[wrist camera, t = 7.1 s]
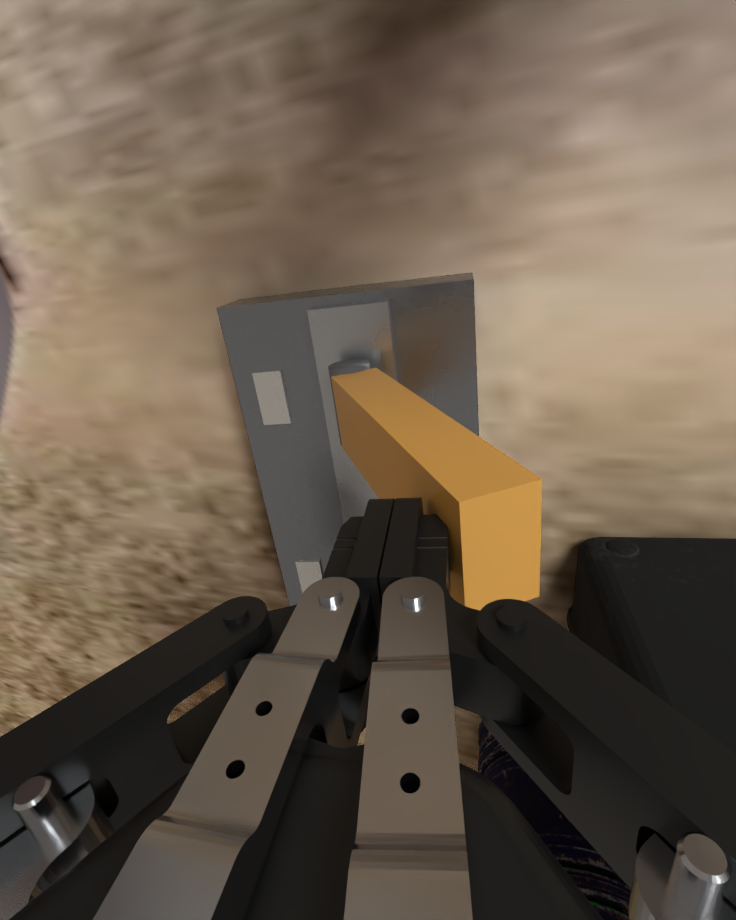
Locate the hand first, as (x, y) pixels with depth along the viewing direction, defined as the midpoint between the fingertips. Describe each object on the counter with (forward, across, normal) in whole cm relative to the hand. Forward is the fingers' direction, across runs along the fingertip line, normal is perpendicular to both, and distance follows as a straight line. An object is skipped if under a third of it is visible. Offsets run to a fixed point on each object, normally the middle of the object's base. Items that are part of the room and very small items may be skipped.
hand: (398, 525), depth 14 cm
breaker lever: (+11, +3, 0) cm, 11 cm away
